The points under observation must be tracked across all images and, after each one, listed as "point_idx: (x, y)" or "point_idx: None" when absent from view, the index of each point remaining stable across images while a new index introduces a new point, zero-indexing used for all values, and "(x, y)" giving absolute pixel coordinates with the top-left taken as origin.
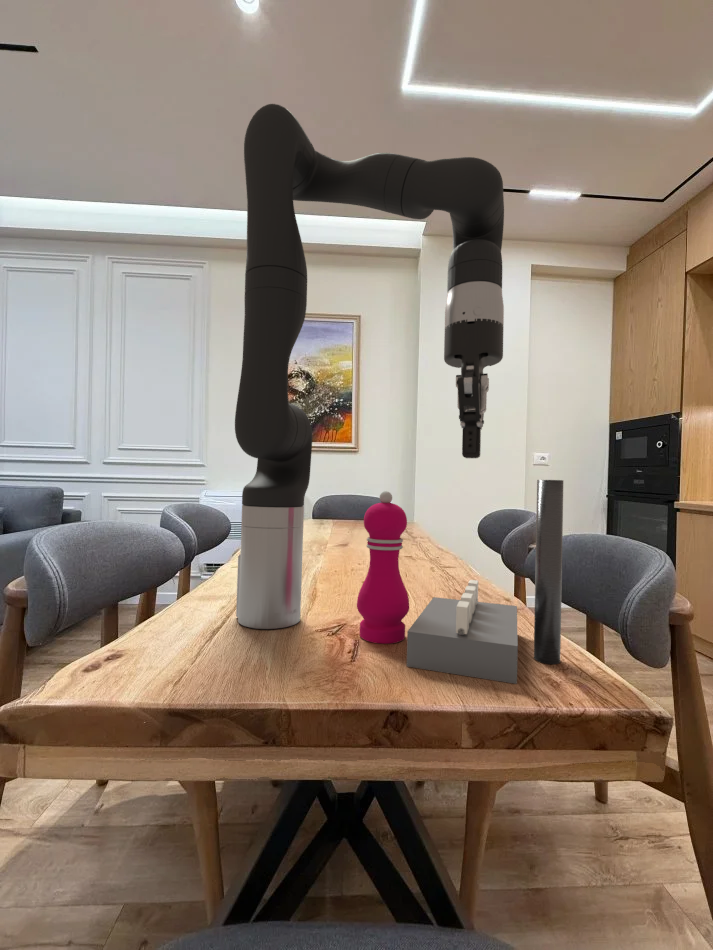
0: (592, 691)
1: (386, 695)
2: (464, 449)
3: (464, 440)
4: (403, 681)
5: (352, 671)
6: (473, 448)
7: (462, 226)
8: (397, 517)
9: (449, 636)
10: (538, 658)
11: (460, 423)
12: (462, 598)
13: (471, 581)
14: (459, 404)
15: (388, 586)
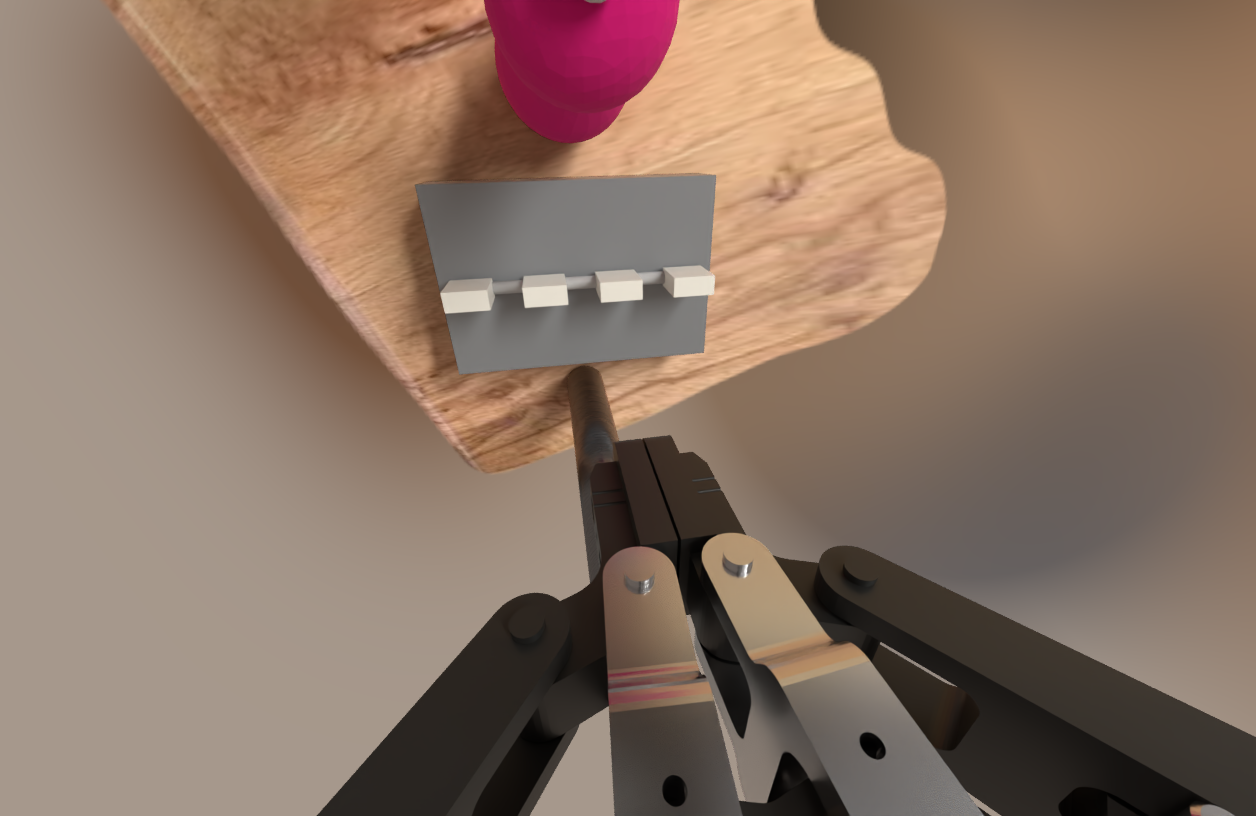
0: (499, 430)
1: (296, 181)
2: (616, 469)
3: (628, 501)
4: (366, 193)
5: (340, 80)
6: (592, 513)
7: None
8: (529, 80)
9: (437, 269)
10: (570, 374)
11: (623, 571)
12: (523, 290)
13: (695, 282)
14: (371, 757)
15: (521, 86)
